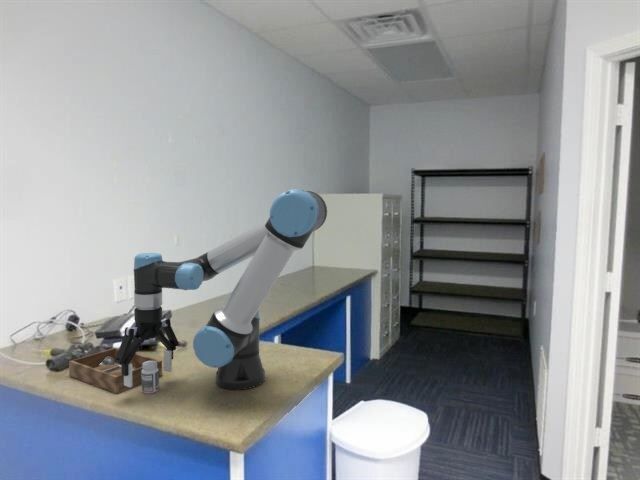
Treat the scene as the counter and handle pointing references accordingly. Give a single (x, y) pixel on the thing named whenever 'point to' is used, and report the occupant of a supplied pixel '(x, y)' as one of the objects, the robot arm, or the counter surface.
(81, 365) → the box
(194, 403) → the counter surface
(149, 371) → the pill bottle
